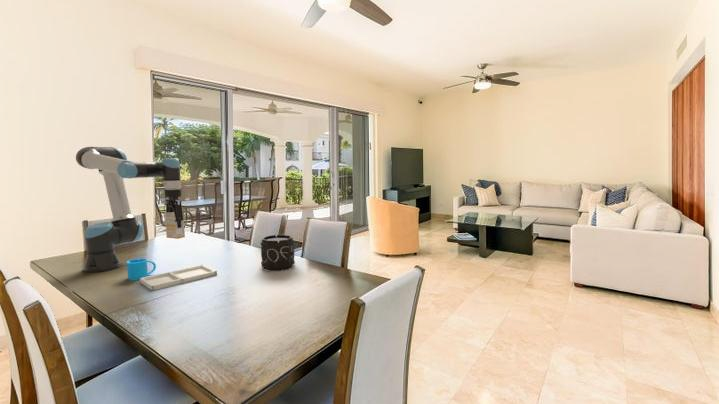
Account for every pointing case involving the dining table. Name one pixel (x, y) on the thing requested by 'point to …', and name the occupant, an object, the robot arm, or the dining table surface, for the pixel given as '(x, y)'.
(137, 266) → the mug
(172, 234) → the supplement box
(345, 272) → the dining table surface
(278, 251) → the black cylindrical pot
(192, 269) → the organiser tray
